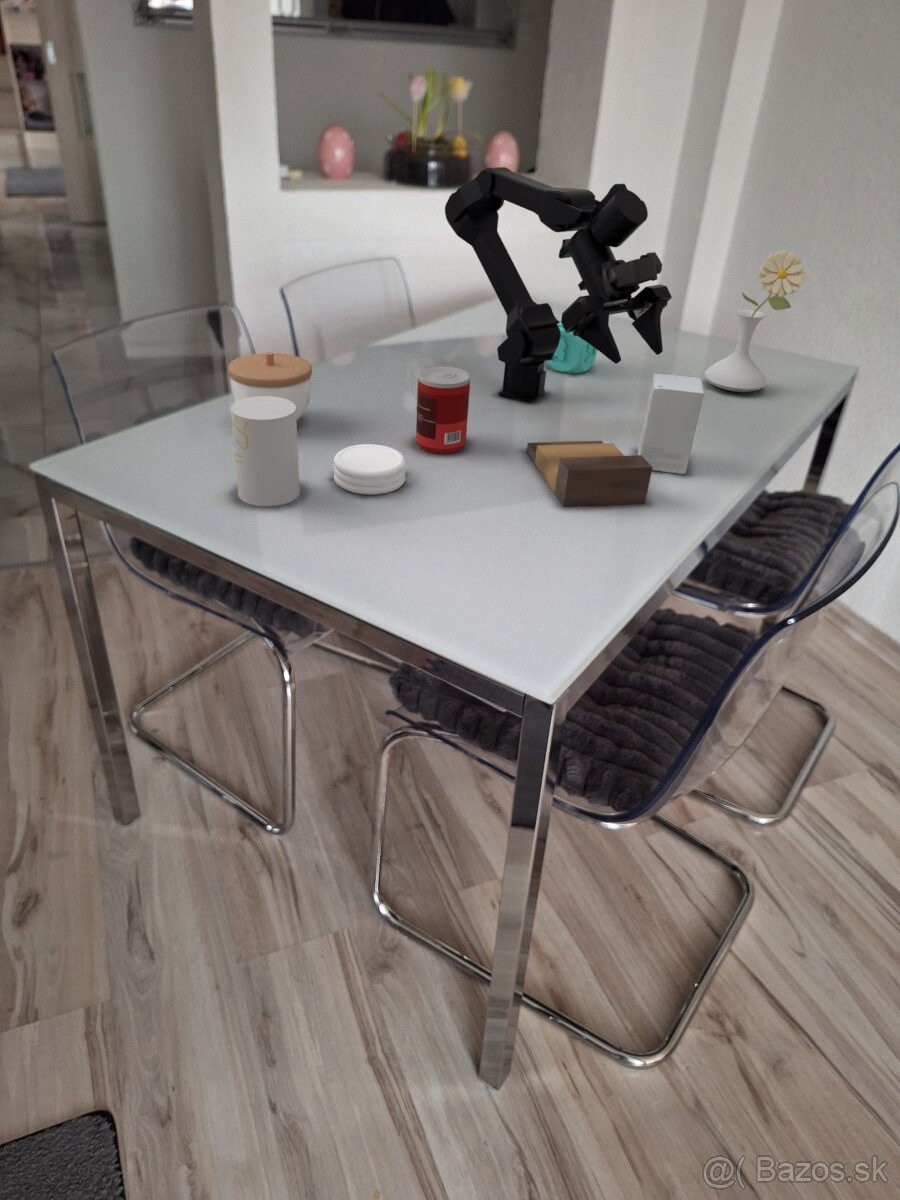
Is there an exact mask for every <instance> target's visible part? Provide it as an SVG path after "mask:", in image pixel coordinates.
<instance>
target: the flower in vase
mask: <svg viewBox="0 0 900 1200" xmlns="http://www.w3.org/2000/svg"><path fill="white" fill-rule="evenodd" d="M802 262H803V261H802V258H800V256H799V255H796V256H795V253H794V252H792V251H791V252H788V251H787V250H786V249H783V250H781V251H776V252H775V253H774V255H773V254H770V255H767V256H766V258H765V259H764V261H763V264H762V265H761V266H760V270H759V273H758V275H757V276H758V278H759V279H760V280H759V283H760V284H761V289H762V290H763V291H765V292H768V294H769V295H768V296H767V297H766V298H765V299H764V300H763V301H762V302H761V303H760V304H759V303H758V302H757V301H756V300H755V299H753V298H751V297H748V295H746V294H745V292H743V291H742V292H741V295H742V297H743V299H744V300H746V301H747V302H749V303H751V304H753V305H754V306H755V307H756V308H755V310H752V309H739V310H736V314H737V316H738V319H739V333H738V339H737V343H736V345H735V348H734V350H733V352H732V353H730V354H729V355H728V356H726V357H725V358H722V359H721V360H719V361H717V362H715V363H713V364H712V365H711V366H709V367H707V369H706V370H705V372H704V378H705V380H706V381H707V382H708V383H709V384H711V385H712V386H714V387H717V388H719V389H722V390H726V391H730V392H737V393H738V392H739V393H751V392H756V391H759V390H762V389H763V388H764V387H765V386H766V385H767V378H766V376H765V374H764V373H763V371H762V370H761V368H760V367H758V366H757V364H756V363H755V362H754V361H753V359H752V358H751V356H750V346H751V341H752V338H753V335H754V333H755V330H756V328H757V326H758V325H759V323H760V322H761V321H762V320H764V318H765V317H766V314H765V313H764V312H761V311H759V310H760V309H761V307H762V306H764V305H765V304H766V302H768V304H769V305H770V307H771V308H772V309H773V310H775V311H781V310H787V309H791V308H792V305H791V303H790V302H789V301H788V299H787V298H786V296H787V295H792V294H794V293H797V292H798V291H799V289H800V286H801V285H803V283H804V280H805V278H806V271H805V270H804V265H803V264H802ZM772 295H773V296H772Z"/></svg>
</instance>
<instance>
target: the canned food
mask: <svg viewBox="0 0 900 1200" xmlns="http://www.w3.org/2000/svg"><path fill="white" fill-rule="evenodd" d="M416 389H417V390H416V391H417V393H416V395H417V396H416V397H417V398H416V421H415V422H416V425H415V441H416V444H417V446H418V448H420V449H421V450H423V451H424V452H428V453H432V454H441V455H442V454H453V453H456V452H458V451H461V450H462V449H463V448H464V447H465V444H466V441H467V431H468V430H467V429H468V419H469V403H470V391H471V390H470V389H471V374H469V372H467V371H465V370H463V369H461V368H457V367H452V366H432V367H427V368H424V369H421V370H420V371H419V372H418V375H417V388H416Z"/></svg>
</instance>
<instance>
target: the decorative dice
mask: <svg viewBox="0 0 900 1200" xmlns="http://www.w3.org/2000/svg"><path fill="white" fill-rule="evenodd" d="M558 321H559V324H557V325H558V327H559V329H560V333H561V336H560V341H559V345H558V347H557V349H556V351H555V353H554V355H553V358H552V360H550V361H548V360H547V361H545V363H546V364H547V365H548V367H549V368H550V369H552V370H554V371H555V372H559V373H565V374H581V373H585V372H586V371H589V370H590V368H591V367H592V365H593V364H594V362H595V359H596V357H597V354H598V350H597V349H596V348H594V347H593V346H592V345H590V344H589V343H587V342H586V341H584V340H583V339H581V338H580V337H578V336H574V335H573V332H569V333H566V332H565V330H564V327H563V325H562V323H561V320H558Z"/></svg>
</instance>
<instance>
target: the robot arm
mask: <svg viewBox="0 0 900 1200" xmlns="http://www.w3.org/2000/svg"><path fill="white" fill-rule="evenodd" d="M505 202H508V203H510V204H513V205H516V206H518V207H520V208H522V209H524V210H528V211H531V213H534V214H535V215H536V216H538V219H539V222H541V224H543V225H544V226H545V227H546V228H548V229H550V230H551V231H552V232H554V233H567V232H575V233H574V234H573V235H572V236H571V237H570V238H565V239H562V241H561V242H562V243H561V246H560V248H559V251H558V258H559V259H569V258H571V259H572V261H573V264H574V266H575V267H576V270H577V272H578V274H579V277H580V279H581V281H579V283H578V284H577V286H578V289H579V291H580V292H581V291H586V292H587V294H588V295H581V296H580V295H579V296H578V297H577V298H576V299H575V300H574V301H573V302H572V303H571V304H570V305H569V306H568V307H567V308H566V309H565V310H564V311H563V312H562V313H561V320H558V319H557V317H556V316H555V314H554V312H553V309H552V307H551V305H550V304H549V302H544V303H537V302H535V300H533V298H532V296H531V295H530V292H529V290H528V288H527V286H526V285H525V283H524V281H523V279H522V277H521V275H520V273H519V271H518V269H517V267H516V265H515V263H514V262H513V259H512V258H511V255H510V253H509V251H508V249H507V247H506V246H505V243H504V242H503V239H502V238H501V235H500V234H499V231H498V227H499V218H500V217H499V210H500V209H501V208H502V207H503V206H504V204H505ZM444 214H445V218H446V221H447V223H448V225H449V226H450V228H451V229H452V230H453V232H454V234H455V235H456V236H457V237H458V238H460V240H463V241H464V242H465V243H467V244H469V246H471V247H472V249H473V251H474V253H475V255H476V257H477V260H478V261H479V263H480V264H481V266H482V269H483V271H484V273H485V274H486V276H487V278H488V281H489V282H490V285H491V287H492V289H493V290H494V292H495V295H496V296H497V298H498V300H499V302H500V304H501V307H502V308H503V310H504V312H505V315H506V325H505V334H506V337H507V338H506V339H504V340H503V342H502V343H500V344H499V346H497V348H496V349H497V359H498V361H499V362H502V363H504V369H503V370H504V372H503V382H502V389H501V390H499V391H498V393H497V395H498V396H501V397H505V398H509V399H512V400H518V401H522V402H525V403H526V402H527V403H533V402H535V400H537V399H539V398H540V397H542V395H544V394H545V392H546V390H545V386H546V377H547V371H546V370H545V363H546V361H547V360H548V361H550V360H552V358H553V355H554V353H555V351H556V349H557V347H558V345H559V341H560V336H561V333H560V329H559V327H558V325H557V324H559V321H561V323H562V325H563V327H564V330H565V332H566V333H569V332H573V335H574V336H578V337H580V338H581V339H583V340H584V341H586V342H587V343H589V344H590V345H592V346H593V347H594V348H596V349H597V352H599V353H601V354H602V355H603V356H604V357H606V358H607V359H608V360H610V361H611V362H612V363H613V364H615V365H617V364H619V363H621V361H622V358H621V354H620V351H619V348H618V345H617V343H616V340H615V338H614V336H613V333H612V331H611V328H610V325H609V322H610V315H616V314H623V313H627V315H628V317H629V319H632V320H633V321H632V322H631V325H632V326H633V328H634V329H635V330H636V332H637V333H638V334H639V335H640V337H641V338H642V339H643V340H644V342H645V343H646V344H647V346H648V347H649V348H650V350H652V352H653V353H654V354H655V355H656V356H659V355H661V354H662V353H663V351H664V348H663V347H664V346H663V339H662V337H663V336H662V323H661V321H662V320H661V317H662V313H663V311H664V309H665V308H666V307H667V306H668V303H669V301H670V300H671V299H672V295H671V292H670V290H669V288H668V285H663V284H661V283H659V284H655V285H647V286H645V287H644V288H642V289H641V287H640V285H641V284H643V283H647V282H650V281H652V282H654V281H657V280H658V275H659V274H661V273H662V270H663V263H662V261H661V259H660V257H659V255H658V254H657V252H656V251H653V252H647V253H646V254H641V255H640V256H639V258H635V259H632V260H628V261H625V260H624V259H616V257H615V255H614V252H613V250H612V248H619V247H621V246H622V245H623V244H624V243H625V242H626V241H627V240H628V239H629V238H630V237H631V236H632V235H633V234H634V233H635V232H636V231H637V230H638V229H639V228H640V227H641V226H642V225H643V224H644V223H645V222H646V221H647V219H648V215H649V211H648V207H647V205H646V203H645V201H644V200H642V199H641V197H639V196H638V195H637V194H636V193H635V192H634V191H632V190H630V189H628V187H627V185H626V184H625V183H614V184H613V185H612V186H611V187H610V189H609V190H608V192H607V193H606V195H605V196H604V197H603V198H602V199H601V200H598V199H596V195H595V194H594V193H593V192H592V191H591V190H589V189H583V188H573V187H572V188H570V187H555V186H551V185H548V184H546V183H544V182H540V181H538V180H536V179H533V178H530V177H528V176H525V175H523V174H520V173H518V172H515V171H513V170H511V169H509V168H508V167H505V166H497V167H495V166H494V167H485V168H484V169H482V170H481V171H480V172H479V173H478V174H477V175H476V176H475V177H474V178H473V179H471V180H469V181H468V182H466V183H465V184H463V185H461V186H460V187H458V188H457V189H456V190H455V192H453V193H451V194H450V195H449V196H448V199H447V201H446V202H445V207H444ZM640 289H641V290H640ZM638 290H640V291H639V292H638ZM636 292H638V293H637V294H636V295H635V296H632V294H634V293H636Z"/></svg>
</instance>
